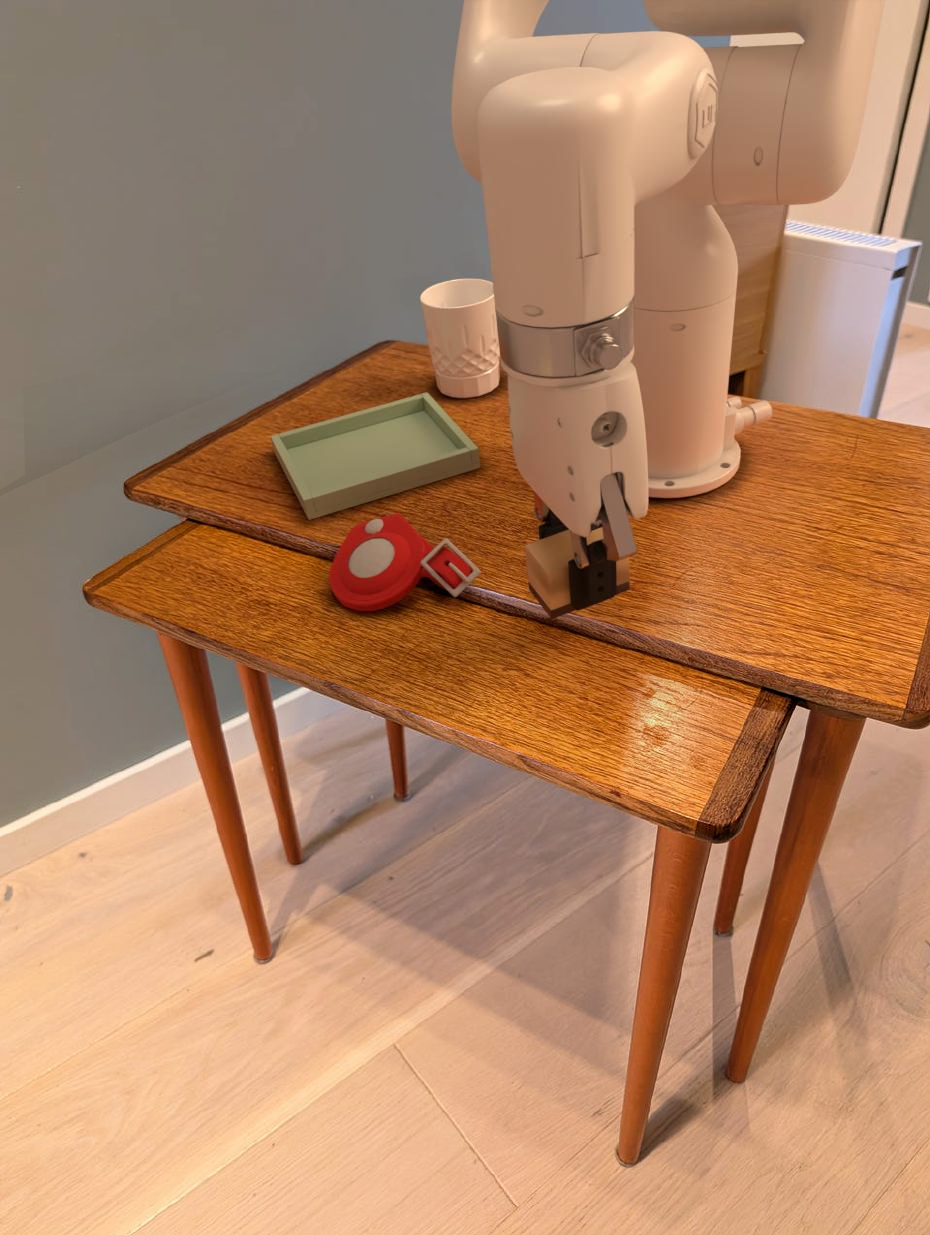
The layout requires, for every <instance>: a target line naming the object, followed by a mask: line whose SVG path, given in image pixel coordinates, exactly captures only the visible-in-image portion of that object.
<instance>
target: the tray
mask: <svg viewBox="0 0 930 1235" xmlns="http://www.w3.org/2000/svg"><path fill="white" fill-rule="evenodd" d="M270 441H271V444H272V448H273V451H274V454H275V457H276V459H277V461H278V462H279V465H280V466H281V467H280V468H282V471H283V472H284V474H285V477H286V478H287V480H288V482H289V484H290V486H291V488H292V490H293V492H294V494H295V496H296V497H297V500H298V502H299V504H300V506H301V508H302V510H303V512H304V514H305V516H306V518H307V520H308V521H311V520H314V519H317V518H320V517H323V516H327V515H331V514H333V513H337V512H340V511H343V510H346V509H350V508H353V507H357V506H361V505H363V504H366V503H369V502H372V501H377V500H379V499H383V498H386V497H389V496H393V495H396V494H399V493H402V492H405V491H410V490H413V489H416V488H419V487H422V486H425V485H429V484H431V483H435V482H438V481H441V480H445V479H448V478H451V477H454V476H455V477H456V476H458V475H461V474H465V473H468V472H471V471H475V470H478V469H481V460H480V451H479V447H478V446H477V445H476V444H475V443H474V441H473V440H472V439H470V437H469V436H468V435H467V434H466V433H465V432H464V431H463V430H462V429H461V428H460V426H459V425H458V424H457V423H456V422H455V421H454V420H453V419H452V417H450V415H449V414H448V413H447V411H445V410H444V408H443V407H441V405H440V404H439V403H438V402H437V401H436V400H435V399H434V398H433V397H432V396H431V395H430V393H429V392H427V391H426V392H423V393H419V394H415V395H412V396H409V397H404V398H401V399H398V400H394V401H391V402H387V403H383V404H380V405H376V406H373V407H369V408H367V409H363V410H359V411H356V412H355V411H354V412H352V413H348V414H344V415H340V416H337V417H333V418H331V419H327V420H323V421H320V422H316V423H312V424H308V425H305V426H301V427H297V428H295V429H291V430H288V431H283V432H281V433H276V434H272V435H270Z"/></svg>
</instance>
